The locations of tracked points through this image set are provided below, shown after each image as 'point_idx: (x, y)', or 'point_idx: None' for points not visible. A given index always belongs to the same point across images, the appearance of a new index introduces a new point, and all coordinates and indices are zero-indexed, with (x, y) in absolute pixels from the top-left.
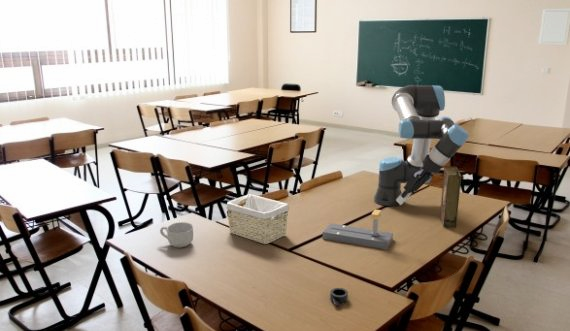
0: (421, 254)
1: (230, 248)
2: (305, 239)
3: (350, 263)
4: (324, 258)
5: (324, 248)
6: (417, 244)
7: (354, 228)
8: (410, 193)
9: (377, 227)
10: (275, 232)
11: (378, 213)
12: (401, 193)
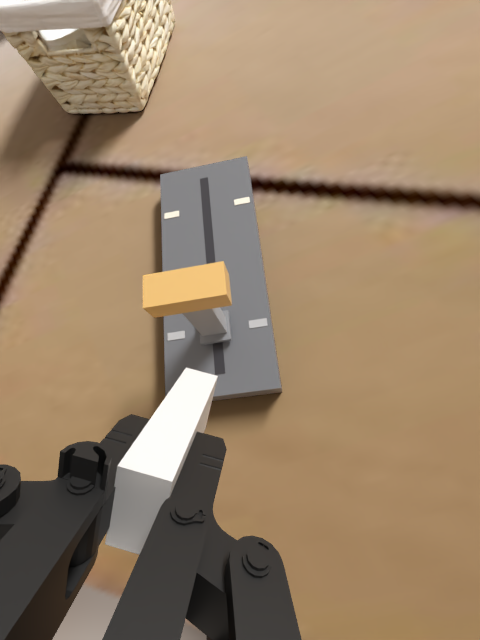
0: None
1: (29, 78)
2: (141, 161)
3: (29, 336)
4: (40, 260)
5: (103, 229)
6: (291, 513)
7: (243, 238)
8: (123, 549)
9: (209, 325)
10: (91, 91)
11: (168, 302)
12: (155, 412)
